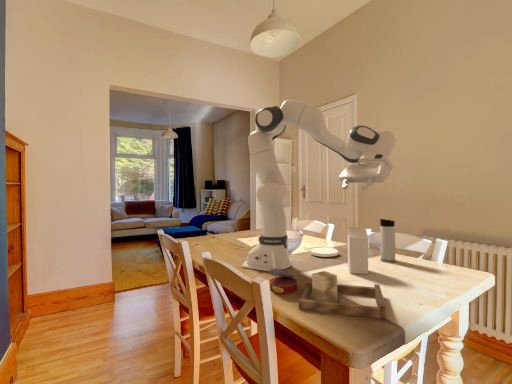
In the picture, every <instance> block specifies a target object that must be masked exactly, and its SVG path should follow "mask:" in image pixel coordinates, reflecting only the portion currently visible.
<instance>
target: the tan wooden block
mask: <svg viewBox="0 0 512 384" xmlns="http://www.w3.org/2000/svg"><path fill="white" fill-rule="evenodd" d="M311 282H312V294H313V299H315V300H317V301H325V302H333V301H336V300H337V284H338V275H337V274H334V273H331V272H328V271H326V270H322V271H319V272H315V273H312V274H311Z"/></svg>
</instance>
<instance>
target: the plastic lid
mask: <svg viewBox="0 0 512 384" xmlns="http://www.w3.org/2000/svg"><path fill="white" fill-rule="evenodd" d="M310 254H311V255H312V256H316V257H322V258H323V257H324V258H329V257H330V258H331V257H336V256H338V255H339V249H336V248H333V247H322V246H321V247H314V248H311V249H310Z"/></svg>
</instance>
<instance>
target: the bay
mask: <svg viewBox="0 0 512 384" xmlns="http://www.w3.org/2000/svg"><path fill="white" fill-rule="evenodd" d="M339 294H344V295H356V296H358V295H359V296H365V297H374V298H375V303H376V305H377V306H373V305H372V306H371V305H362V304H361V305H360V304H352V303H342V302H339ZM298 310H306V311H314V312H321V313H323V312H324V313H330V314H339V315H347V316H348V315H349V316H357V317H363V318H374V319H382V320H386V319H387V305H386V302H385V300H384V295H383V293H382V289H381V286H380V284H374V285H373V286H362V285H352V284H339V283H337V300H336V301H333V302H325V301H317V300H315V299H313V294H312V281H306V282H305V288H304V290H303V293H302V295H301V298H299V300H298Z"/></svg>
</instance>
